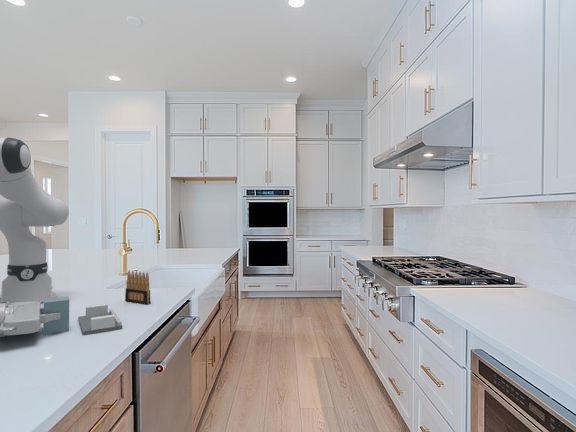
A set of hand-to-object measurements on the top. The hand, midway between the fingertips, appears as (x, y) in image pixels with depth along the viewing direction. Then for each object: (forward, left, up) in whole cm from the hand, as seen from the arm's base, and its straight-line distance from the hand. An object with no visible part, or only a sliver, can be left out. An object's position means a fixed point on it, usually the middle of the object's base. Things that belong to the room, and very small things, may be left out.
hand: (60, 312), depth 99 cm
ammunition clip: (-20, +25, -5) cm, 33 cm away
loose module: (0, -1, -5) cm, 5 cm away
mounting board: (0, +10, -5) cm, 11 cm away
